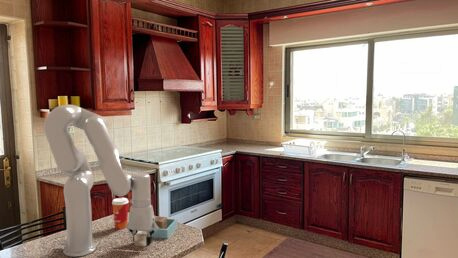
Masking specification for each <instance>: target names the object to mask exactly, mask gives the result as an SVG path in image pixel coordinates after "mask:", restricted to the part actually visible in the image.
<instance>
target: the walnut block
mask: <svg viewBox="0 0 458 258" xmlns="http://www.w3.org/2000/svg"><path fill="white" fill-rule="evenodd" d="M167 218H168V216H156V215H154V220H155V223H156V224H157V226H158V227H159V229H167ZM152 228H154V227H152Z"/></svg>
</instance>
